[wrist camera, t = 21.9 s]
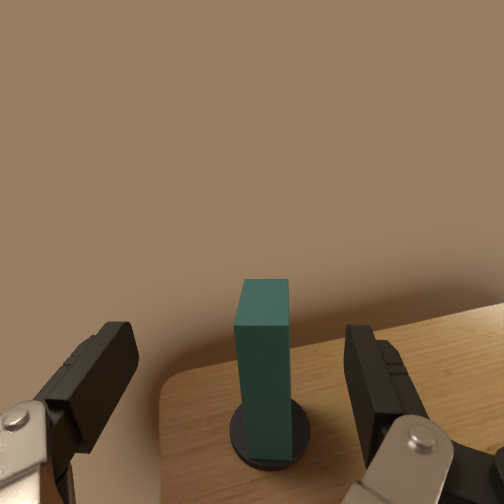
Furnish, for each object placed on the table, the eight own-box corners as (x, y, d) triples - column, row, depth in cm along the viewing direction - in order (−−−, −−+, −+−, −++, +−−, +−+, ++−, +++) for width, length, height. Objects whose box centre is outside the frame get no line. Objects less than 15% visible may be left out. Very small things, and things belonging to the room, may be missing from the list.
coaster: (224, 468, 25) (223, 463, 25) (236, 396, 32) (235, 392, 32) (313, 473, 25) (313, 468, 24) (307, 398, 31) (307, 393, 31)
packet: (247, 459, 25) (233, 325, 20) (254, 397, 31) (244, 278, 26) (292, 461, 25) (289, 325, 20) (290, 398, 30) (288, 278, 25)
